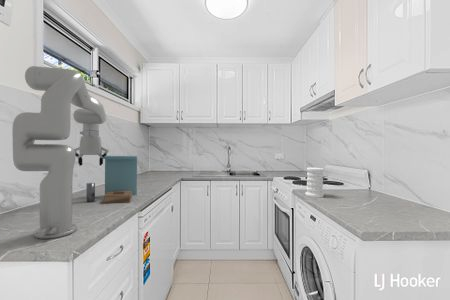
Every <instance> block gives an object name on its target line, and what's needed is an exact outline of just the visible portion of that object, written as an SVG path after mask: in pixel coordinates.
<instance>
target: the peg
mask: <svg viewBox="0 0 450 300" xmlns="http://www.w3.org/2000/svg"><path fill="white" fill-rule="evenodd" d="M85 193H86V194H85V195H86V203H94V202H95V201H96V183H95V182H88V183H86V192H85Z"/></svg>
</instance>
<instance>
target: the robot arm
mask: <svg viewBox="0 0 450 300" xmlns="http://www.w3.org/2000/svg"><path fill="white" fill-rule="evenodd" d="M24 79H25V82H26V84H27V85H28V87H29V88H30V89H32V90H34V91H38V92H39V91H44V93H43V94H42V95H41V98H40V111H39V112H33V111H32V112H29V111H28V112H26V111H25V112H21V113H19V114H17V115H16V116H15V117H14V119H13V123H12V133H11V134H12V159H13V160H12V161H13V165H14V167H15V168H16V170H19V171H21V172H47V174H46V176H45V177H43V179H42V180H41V181H40V183H39V228H38V229H36V230H35V231H34V232H33V236H34V238H36V239H42V240H43V239H46V240H47V239H54V238H55V239H56V238H61V237H65V236H67V235H71V234H73V233H75V232H76V231H77V230H78V225H77V224H76V223H73V175H74V168H75V163H76V158H77V163H78V165H79V166H83V156H98V157H99V160H98V161H99V164H98V165H99V166H102V165H104V159H103V158H104V157H105V156H108V155H107V154H108V153H109V149H107V148H105V147H103V146H102V140H101V136H100V130H99V129H100V125H103V124H104V123H105V122H106V120H107V117H106V116H107V115H106V111H105V108H104V105H103V104H102V103H101V101H99V100H98V99H96V98H95V97H94V96H92V95H90V94H89V91H88V89H87V85H86V84H85V80H84V77H83V75H82V74H81V73H80V72H79V71H77V70H74V69H70V68H69V69H67V68H60V67H59V68H58V67H50V66H49V67H48V66H47V67H46V66H37V65H34V66H33V65H31V66H29V67H27V69H26V70H25V73H24ZM71 105H73V106H75V107H78V108H77V109H75V110H74V111H73V113H72V115H73V116H72V117H73V120H74V121H75V122H76V123H78V124H82V130H81V131H79V134H80V135H82V136H80V138H79V139H80V141H79V146H78V147H76V148H73V147H71V146H69V145H67V144H60V143H59V144H58V143H55V144H54V143H53V144H52V143H44V144H43V143H42V144H41V143H35V142H36V141H63V140H67V139H68V138H69V137H70V135H71V107H72V106H71ZM103 152H104V153H103ZM102 153H103V154H102Z"/></svg>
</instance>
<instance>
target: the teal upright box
mask: <svg viewBox="0 0 450 300" xmlns="http://www.w3.org/2000/svg"><path fill="white" fill-rule="evenodd" d="M103 160H104V195H105V194H106V193H107V192H108V191H130V190H132V196H137V194H138V155H106V156H105V157H104V158H103Z"/></svg>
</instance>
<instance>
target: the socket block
mask: <svg viewBox="0 0 450 300" xmlns="http://www.w3.org/2000/svg"><path fill="white" fill-rule="evenodd" d="M132 196H133V195H132V190H130V191H108V192H107V193H106V194H105V193H104V195H103V205H105V204H120V203H121V204H123V203H131V200H132V198H133V197H132Z"/></svg>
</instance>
